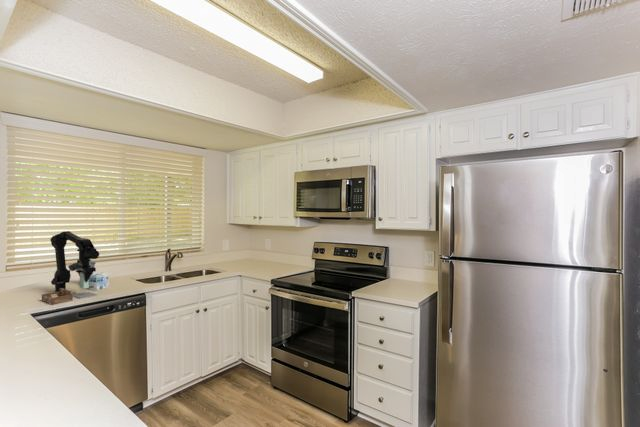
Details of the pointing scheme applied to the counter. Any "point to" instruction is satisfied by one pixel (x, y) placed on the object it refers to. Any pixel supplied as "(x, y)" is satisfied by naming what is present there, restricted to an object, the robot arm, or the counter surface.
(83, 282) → the grey-green rectangular block
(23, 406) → the counter surface
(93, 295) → the mat
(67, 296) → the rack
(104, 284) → the light bulb box
